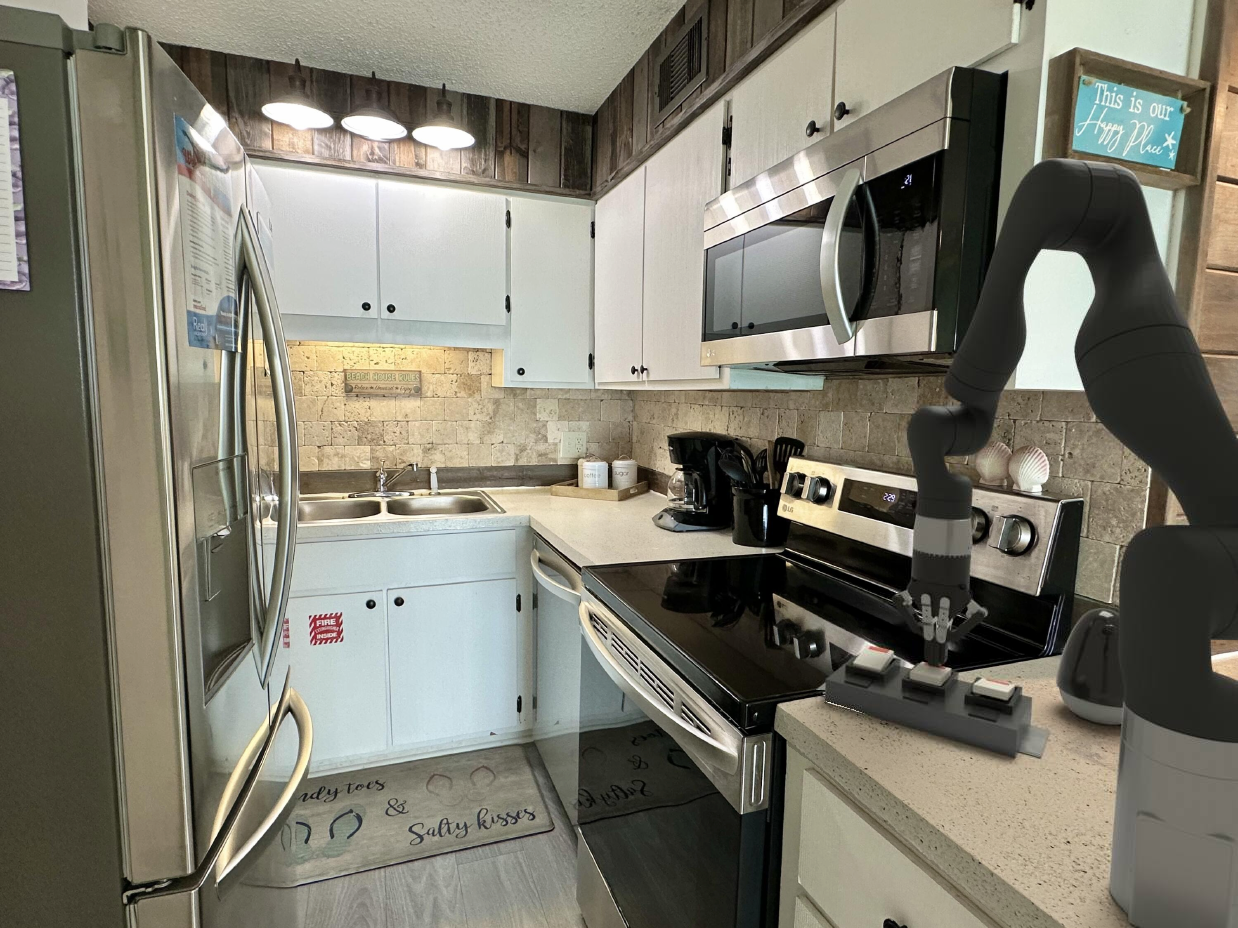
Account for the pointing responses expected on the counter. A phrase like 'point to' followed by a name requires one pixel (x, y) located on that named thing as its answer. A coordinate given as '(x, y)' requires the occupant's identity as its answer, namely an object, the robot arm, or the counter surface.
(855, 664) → the rocker
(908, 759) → the counter surface
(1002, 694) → the rocker
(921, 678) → the middle rocker
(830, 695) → the rocker switch box
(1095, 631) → the pump dispenser
